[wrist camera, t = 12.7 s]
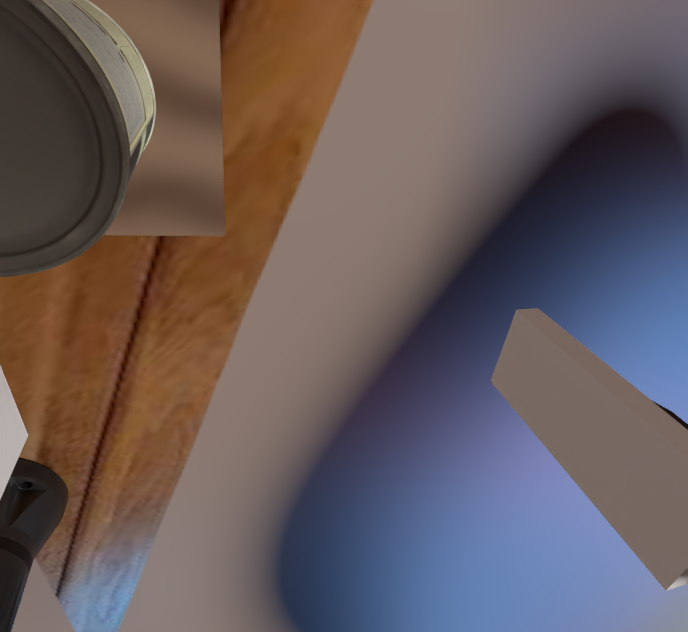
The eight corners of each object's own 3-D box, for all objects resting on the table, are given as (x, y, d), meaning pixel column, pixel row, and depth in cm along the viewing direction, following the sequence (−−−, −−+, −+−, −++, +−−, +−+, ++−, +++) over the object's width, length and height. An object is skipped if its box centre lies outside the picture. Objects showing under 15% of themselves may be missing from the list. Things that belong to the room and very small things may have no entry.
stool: (219, 189, 42) (225, 236, 32) (0, 181, 37) (-72, 233, 27) (211, -47, 33) (216, -82, 23) (-83, -104, 27) (-237, -180, 18)
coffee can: (153, 192, 29) (125, 291, 18) (-35, 160, 26) (-223, 259, 14) (163, 16, 25) (132, -2, 13) (-67, -56, 21) (-389, -168, 9)
